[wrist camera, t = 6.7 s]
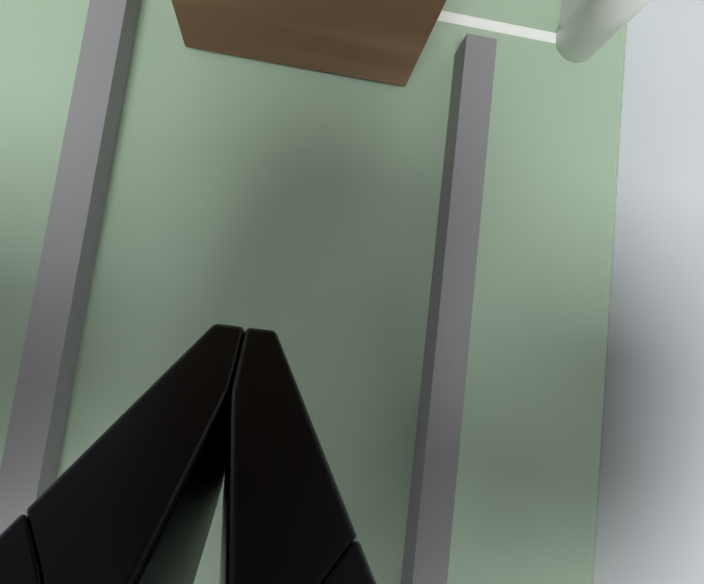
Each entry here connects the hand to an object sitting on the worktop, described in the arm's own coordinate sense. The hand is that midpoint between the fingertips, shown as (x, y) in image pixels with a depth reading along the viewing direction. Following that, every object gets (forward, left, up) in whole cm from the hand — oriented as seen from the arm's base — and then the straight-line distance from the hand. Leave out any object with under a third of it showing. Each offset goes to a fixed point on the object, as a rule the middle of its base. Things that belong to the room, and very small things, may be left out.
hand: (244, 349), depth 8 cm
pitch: (+4, +1, -6) cm, 8 cm away
